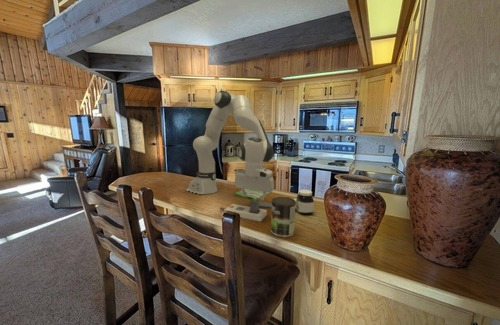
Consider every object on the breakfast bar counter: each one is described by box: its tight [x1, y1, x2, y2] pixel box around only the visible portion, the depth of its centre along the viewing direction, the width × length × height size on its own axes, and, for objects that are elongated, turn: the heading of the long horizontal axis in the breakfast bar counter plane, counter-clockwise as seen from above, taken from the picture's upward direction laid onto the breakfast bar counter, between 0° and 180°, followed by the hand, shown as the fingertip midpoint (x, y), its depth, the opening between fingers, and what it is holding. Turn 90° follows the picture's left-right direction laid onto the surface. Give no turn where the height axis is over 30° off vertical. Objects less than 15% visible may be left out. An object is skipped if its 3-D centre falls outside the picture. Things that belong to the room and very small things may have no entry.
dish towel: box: [233, 189, 270, 201], centre depth 147 cm, size 17×23×4 cm
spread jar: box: [293, 189, 315, 216], centre depth 115 cm, size 12×11×12 cm
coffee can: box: [270, 196, 296, 238], centre depth 93 cm, size 10×10×14 cm
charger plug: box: [249, 199, 260, 214], centre depth 108 cm, size 4×4×8 cm
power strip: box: [219, 203, 268, 223], centre depth 111 cm, size 25×9×4 cm, turn 67°
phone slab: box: [259, 201, 272, 209], centre depth 125 cm, size 14×7×1 cm, turn 73°
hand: (253, 198), depth 107 cm, fingers open, 8 cm apart
